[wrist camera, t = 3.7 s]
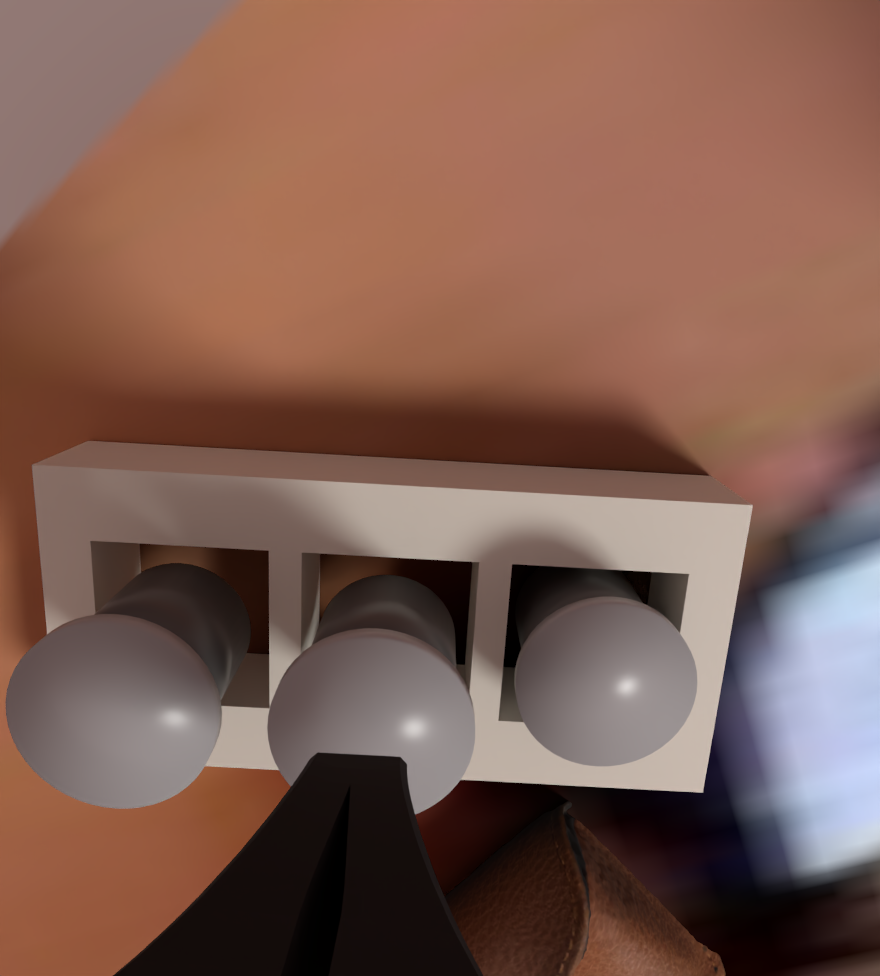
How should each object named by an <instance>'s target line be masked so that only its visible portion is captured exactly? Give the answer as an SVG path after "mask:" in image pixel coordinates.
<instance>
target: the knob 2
mask: <svg viewBox="0 0 880 976" xmlns="http://www.w3.org/2000/svg"><path fill="white" fill-rule="evenodd" d="M515 621H516V626H517V631H518V636H519V641H520V645H521V651H520V653H519V656H518V659H517V662H516V668H515V680H514V684H515V692H516V698H517V704H518V708H519V711H520V715H521V717H522V719H523V721H524V723H525V725H526V727H527V728H528V730H529V731H530V733H531V734H532V735H533V736H534V738H535V739H536V740H537V741H538V742H539V743H540V744H541V745H543V746H544V747H545V748H546V749H548V750H549V751H551V752H552V753H553V754H555V755H557V756H559V757H561V758H563V759H566V760H568V761H571V762H574V763H578V764H583V765H589V766H615V765H622V764H626V763H630V762H633V761H636V760H639V759H642V758H644V757H646V756H648V755H650V754H652V753H653V752H655V751H657V750H658V749H660V748H661V747H663V746H664V745H665V744H666V743H667V742H669V741H670V740H671V739H672V738H673V737H674V736H675V735H676V734H677V733H678V732H679V730H680V729H681V728H682V726H683V725H684V723H685V722H686V720H687V718H688V716H689V715H690V712H691V710H692V707H693V705H694V701H695V697H696V693H697V670H696V665H695V661H694V658H693V656H692V653H691V651H690V649H689V647H688V645H687V643H686V642H685V640H684V639H683V637H682V636H681V634H680V633H679V632H678V630H677V629H676V628H675V626H674V625H673V624H672V623H671V622H670V621H669V620H668V619H667V618H666V617H665V616H664V615H662V614H661V613H659V612H658V611H657V610H655V609H653V608H651V607H650V606H648V605H646V604H643V602H642V601H641V599H640V598H639V596H638V594H637V593H636V591H635V590H634V588H633V586H632V585H631V583H630V582H629V580H628V579H627V577H626V576H625V575H624V574H623V573H622V572H621V571H620V570H609V569H591V568H573V567H555V566H541V567H539V568H538V569H536V570H535V571H534V572H533V573H532V574H531V575H530V576H529V577H528V579H527V580H526V581H525V583H524V584H523V586H522V587H521V590H520V592H519V594H518V597H517V600H516V606H515Z"/></svg>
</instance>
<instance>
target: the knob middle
mask: <svg viewBox="0 0 880 976" xmlns="http://www.w3.org/2000/svg"><path fill="white" fill-rule="evenodd" d="M267 731H268V741H269V746H270V750H271V753H272V756H273V759H274V761H275V764H276V765H277V767H278V769H279V771H280V773H281V774H282V776H283V777H284V778H285V780H286V781H287V782H288V784H289V785H290V786H292V785H293V783H294V782H295V781H296V779H297V778H298V776H299V775H300V773H301V772H302V770H303V769H304V767H305V766H306V764H307V762H308V761H309V759H310V758H311V757H313V756H314V755H315V754H316V753H318V752H320V753H339V754H358V755H377V756H396V757H401V758H402V759H403V760H404V761H405V762H406V764H407V777H408V785H409V791H410V796H411V801H412V805H413V809H414V813H415V814H417V813H420V812H422V811H424V810H426V809H428V808H430V807H431V806H433V805H434V804H436V803H437V802H439V801H440V800H442V799H443V798H444V797H445V796H446V795H447V794H449V793H450V792H451V791H452V789H453V788H454V787H455V786H456V785H457V784H458V782H459V781H460V779H461V778H462V776H463V775H464V773H465V771H466V769H467V767H468V765H469V763H470V760H471V757H472V754H473V750H474V744H475V717H474V709H473V702H472V699H471V696H470V692H469V690H468V688H467V685H466V683H465V681H464V679H463V678H462V676H461V675H460V673H459V672H458V670H457V669H456V644H455V629H454V624H453V621H452V618H451V615H450V613H449V611H448V609H447V608H446V606H445V605H444V603H443V602H442V601H441V599H440V598H439V597H438V596H437V595H436V594H435V593H434V592H433V591H431V590H430V589H429V588H427V587H426V586H424V585H422V584H420V583H419V582H417V581H414V580H412V579H409V578H405V577H401V576H395V575H376V576H370V577H366V578H363V579H360V580H358V581H355V582H353V583H351V584H350V585H348V586H346V587H345V588H344V589H342V590H341V591H340V592H339V593H338V594H337V595H336V596H335V597H334V598H333V599H332V600H331V602H330V603H329V604H328V606H327V608H326V610H325V612H324V614H323V617H322V619H321V622H320V625H319V627H318V630H317V633H316V635H315V638H314V641H313V643H312V646H310V647H309V648H308V649H306V650H305V651H303V652H302V653H301V654H300V655H299V656H298V657H297V658H296V659H295V660H294V661H293V662H292V664H291V665H290V666H289V667H288V669H287V670H286V672H285V673H284V675H283V677H282V679H281V680H280V683H279V685H278V687H277V690H276V692H275V695H274V697H273V700H272V702H271V705H270V710H269V714H268V724H267Z"/></svg>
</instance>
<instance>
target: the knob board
mask: <svg viewBox="0 0 880 976" xmlns="http://www.w3.org/2000/svg"><path fill="white" fill-rule="evenodd" d="M32 473H33V484H34V495H35V506H36V517H37V528H38V539H39V550H40V561H41V572H42V583H43V594H44V605H45V616H46V627H47V634H48V633H50V632H51V631H52V630H54V629H55V628H57V627H59V626H61V625H62V624H64V623H67V622H69V621H72V620H74V619H77V618H81V617H85V616H90V615H94V614H95V613H96V612H97V611H98V610H100V609H101V608H102V607H103V606H104V605H105V604H106V603H107V602H108V601H109V600H110V599H111V598H112V597H114V596H115V595H116V594H117V593H118V592H119V591H120V590H121V589H122V588H123V587H124V586H125V585H127V584H128V583H129V582H130V581H131V580H132V579H133V578H134V577H136V576H137V575H138V574H140V573H141V561H140V544H158V545H176V546H194V547H212V548H230V549H248V550H266V551H269V654H255V653H246V655H245V657H244V659H243V661H242V663H241V665H240V666H239V668H238V670H237V672H236V674H235V676H234V677H233V679H232V681H231V683H230V685H229V687H228V688H227V690H226V692H225V694H224V696H223V698H222V699H221V708H222V721H221V728H220V733H219V737H218V739H217V742H216V745H215V747H214V749H213V751H212V753H211V755H210V757H209V759H208V761H207V763H206V764H205V766H213V767H232V768H251V769H270V770H279V769H278V767H277V765H276V764H275V761H274V759H273V756H272V753H271V750H270V746H269V741H268V731H267V724H268V714H269V710H270V705H271V702H272V700H273V697H274V695H275V692H276V690H277V687H278V685H279V683H280V680H281V679H282V677H283V675H284V673H285V672H286V670H287V669H288V667H289V666H290V665H291V664H292V662H293V661H294V660H295V659H296V658H297V657H298V656H299V655H300V654H301V653H302V652H303V651H305V650H306V649H308V648H309V647H310V646H312V643H313V641H314V638H315V635H316V633H317V630H318V627H319V606H320V554H338V555H356V556H374V557H392V558H410V559H428V560H446V561H464V562H472V574H471V588H470V601H469V615H468V629H467V643H466V657H465V665H457V664H456V669H457V670H458V672H459V673H460V675H461V676H462V678H463V679H464V681H465V683H466V685H467V688H468V690H469V692H470V696H471V699H472V702H473V709H474V717H475V744H474V750H473V754H472V757H471V760H470V763H469V765H468V767H467V769H466V771H465V773H464V775H463V776H462V778H461V779H460V780H476V781H495V782H514V783H533V784H551V785H570V786H589V787H608V788H626V789H645V790H664V791H683V792H702V793H703V788H704V782H705V777H706V771H707V765H708V759H709V754H710V748H711V742H712V736H713V731H714V725H715V719H716V713H717V708H718V702H719V696H720V691H721V685H722V679H723V673H724V668H725V662H726V656H727V650H728V645H729V639H730V633H731V627H732V622H733V616H734V610H735V604H736V599H737V593H738V587H739V581H740V576H741V570H742V564H743V559H744V553H745V547H746V541H747V536H748V530H749V524H750V518H751V513H752V507H753V505H752V504H750V503H749V502H747V501H746V500H745V499H743V498H742V497H740V496H739V495H737V494H736V493H735V492H733V491H732V490H730V489H729V488H728V487H726V486H725V485H723V484H722V483H720V482H719V481H718V480H716V479H715V478H713V477H712V476H704V475H686V474H668V473H651V472H633V471H615V470H598V469H580V468H562V467H544V466H527V465H509V464H491V463H474V462H456V461H438V460H421V459H403V458H385V457H367V456H350V455H332V454H314V453H297V452H279V451H261V450H243V449H226V448H208V447H190V446H173V445H155V444H137V443H119V442H102V441H86V442H84V443H82V444H79V445H77V446H75V447H72V448H70V449H68V450H65V451H63V452H61V453H58V454H56V455H54V456H51V457H49V458H46V459H44V460H42V461H39V462H37V463H35V464H32ZM512 564H519V565H537V566H555V567H573V568H591V569H609V570H627V571H645V572H652V574H651V581H650V589H649V596H648V603H647V605H648V606H650V607H651V608H653V609H655V610H657V611H658V612H659V613H661V614H662V615H664V616H665V617H666V618H667V619H668V620H669V621H670V622H671V623H672V624H673V625H674V626H675V628H676V629H677V630H678V632H679V633H680V634H681V636H682V637H683V639H684V640H685V642H686V643H687V645H688V647H689V649H690V651H691V653H692V656H693V658H694V661H695V665H696V670H697V693H696V697H695V701H694V705H693V707H692V710H691V712H690V715H689V716H688V718H687V720H686V722H685V723H684V725H683V726H682V728H681V729H680V730H679V732H678V733H677V734H676V735H675V736H674V737H673V738H672V739H671V740H670V741H669V742H667V743H666V744H665V745H664V746H663V747H661V748H660V749H658V750H657V751H655V752H653V753H652V754H650V755H648V756H646V757H644V758H642V759H639V760H636V761H633V762H630V763H626V764H622V765H615V766H589V765H583V764H578V763H574V762H571V761H568V760H566V759H563V758H561V757H559V756H557V755H555V754H553V753H552V752H551V751H549V750H548V749H546V748H545V747H544V746H543V745H541V744H540V743H539V742H538V741H537V740H536V739H535V738H534V736H533V735H532V734H531V733H530V731H529V730H528V728H527V727H526V725H525V723H524V721H523V719H522V717H521V715H520V711H519V708H518V704H517V698H516V692H515V684H514V680H515V668H512V667H503V663H504V651H505V640H506V628H507V617H508V605H509V594H510V583H511V571H512Z"/></svg>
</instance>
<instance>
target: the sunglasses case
mask: <svg viewBox="0 0 880 976" xmlns="http://www.w3.org/2000/svg"><path fill="white" fill-rule="evenodd" d="M571 805H572V803H571V802H569V801H568V802H565V803H564V804H563V805H560V806H558V807H557V808H556V809H554V810H553V811H550V812H546V813H544V814H543V815H541V816H540V817H539V818H537V819H536V820H535V821H533V822H532V823H531V824H529V825H528V826H527V827H525V828H524V829H523V830H522V831H521V832H520V833H519V834H517V835H516V836H515V837H514V838H513V839H512V840H511V841H509V842H508V843H507V844H505V845H504V846H503V847H501V848H500V849H499V850H498V851H496V852H495V853H494V854H493V855H492V856H491V857H489V858H488V859H487V860H486V861H485V862H484V863H483V864H482V865H480V866H479V867H478V868H477V869H476V870H475V871H474V872H473V873H472V874H471V875H470V876H469V877H467V878H466V879H465V880H463V881H462V882H461V883H460V884H459V885H457V886H456V887H455V888H454V889H453V890H452V891H451V892H449V893H448V894H447V895H446V896H445V899H446V901H447V904H448V906H449V908H450V911H451V913H452V915H453V917H454V919H455V921H456V923H457V926H458V928H459V930H460V932H461V934H462V936H463V938H464V940H465V942H466V944H467V946H468V948H469V950H470V951H471V953H472V955H473V957H474V959H475V961H476V963H477V964H478V966H479V968H480V970H481V972H482V974H483V976H725V970H724V966H723V963H722V962H721V958H720V956H719V955H718V954H717V953H715V952H712V951H710V950H708V948H707V947H706V946H704V945H702V944H701V943H699V942H697V941H696V940H695V939H694V937H693V936H692V935H690V933H689V932H688V931H687V930H686V929H685V928H684V927H683V926H682V925H681V924H680V923H679V922H678V921H677V920H676V918H675V917H674V916H673V915H672V914H671V913H670V912H669V911H668V910H667V909H666V908H665V907H664V906H663V905H662V904H661V903H660V902H659V900H658V899H657V898H655V897H654V896H653V895H652V894H651V893H650V892H649V891H648V890H647V889H646V888H645V887H644V885H643V884H642V883H641V882H640V881H639V880H637V879H636V878H635V877H634V876H633V874H632V873H631V872H630V871H629V870H627V868H626V867H625V866H624V865H623V864H621V863H620V861H619V860H618V859H617V857H616V856H614V855H613V854H612V853H611V852H610V851H609V849H608V848H606V847H605V846H604V845H603V844H602V843H600V842H599V841H598V840H597V838H596V837H595V836H594V835H593V834H592V833H591V832H590V831H589V830H588V829H587V828H586V827H584V826H583V825H582V824H581V822H579V821H578V820H576V819H575V818H573V817H571V816H570V815H568V814H567V812H566V811H567V809H569V808H570V807H571Z"/></svg>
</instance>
